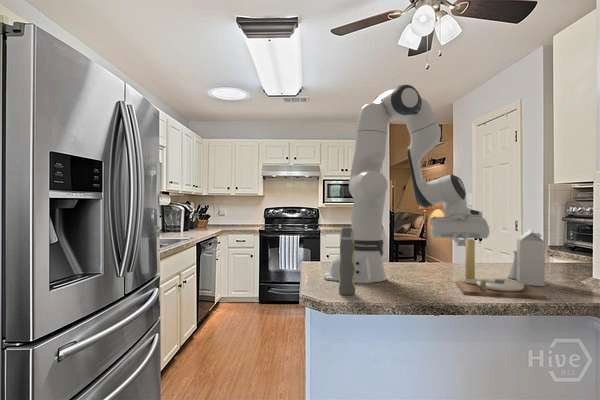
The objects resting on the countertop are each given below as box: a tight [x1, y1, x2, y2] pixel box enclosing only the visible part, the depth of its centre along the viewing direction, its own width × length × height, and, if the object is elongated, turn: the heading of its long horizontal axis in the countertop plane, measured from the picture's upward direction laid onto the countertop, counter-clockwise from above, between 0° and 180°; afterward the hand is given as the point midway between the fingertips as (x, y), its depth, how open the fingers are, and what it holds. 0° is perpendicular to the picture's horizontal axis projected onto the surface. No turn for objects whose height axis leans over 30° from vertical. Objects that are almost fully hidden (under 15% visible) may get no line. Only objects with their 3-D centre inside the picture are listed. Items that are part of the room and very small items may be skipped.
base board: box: [454, 280, 547, 300], centre depth 117 cm, size 22×16×4 cm
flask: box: [506, 250, 517, 281], centre depth 137 cm, size 7×7×10 cm
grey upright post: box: [338, 226, 356, 296], centre depth 112 cm, size 5×5×20 cm
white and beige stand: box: [464, 238, 524, 291], centre depth 119 cm, size 17×13×14 cm
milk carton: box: [516, 227, 546, 287], centre depth 128 cm, size 7×7×19 cm
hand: (461, 245), depth 136 cm, fingers closed
